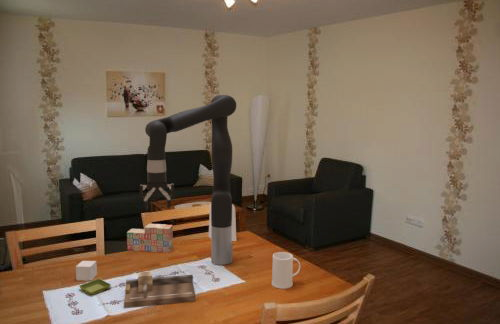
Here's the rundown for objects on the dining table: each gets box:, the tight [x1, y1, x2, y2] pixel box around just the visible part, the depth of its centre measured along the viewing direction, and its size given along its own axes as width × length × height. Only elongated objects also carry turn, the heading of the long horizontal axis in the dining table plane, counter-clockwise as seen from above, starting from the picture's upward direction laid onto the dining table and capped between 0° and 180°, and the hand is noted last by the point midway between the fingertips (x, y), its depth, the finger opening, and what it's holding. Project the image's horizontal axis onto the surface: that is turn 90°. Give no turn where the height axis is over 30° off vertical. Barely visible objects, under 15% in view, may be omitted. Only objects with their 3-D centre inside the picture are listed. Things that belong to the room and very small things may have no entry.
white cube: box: [75, 260, 98, 282], centre depth 164 cm, size 6×6×6 cm
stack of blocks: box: [126, 223, 174, 254], centre depth 196 cm, size 21×6×12 cm, turn 83°
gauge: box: [137, 271, 153, 297], centre depth 147 cm, size 5×9×6 cm, turn 13°
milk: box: [208, 203, 237, 242], centre depth 211 cm, size 12×12×26 cm
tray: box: [123, 274, 196, 309], centre depth 149 cm, size 25×13×4 cm, turn 103°
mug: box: [271, 251, 301, 290], centre depth 160 cm, size 12×8×12 cm
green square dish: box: [78, 278, 112, 295], centre depth 154 cm, size 9×9×2 cm
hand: (157, 209), depth 165 cm, fingers open, 8 cm apart
